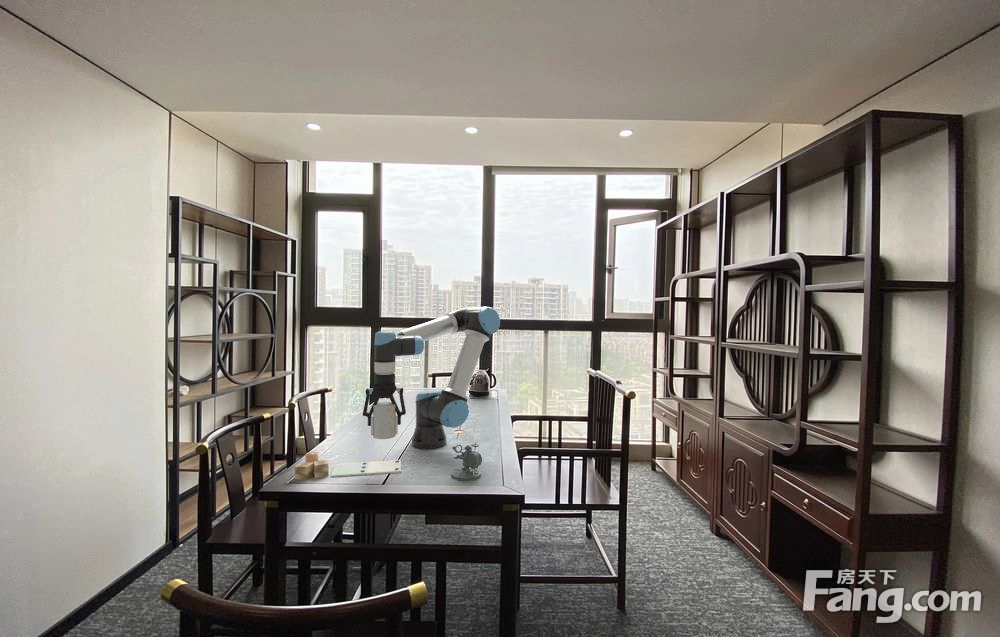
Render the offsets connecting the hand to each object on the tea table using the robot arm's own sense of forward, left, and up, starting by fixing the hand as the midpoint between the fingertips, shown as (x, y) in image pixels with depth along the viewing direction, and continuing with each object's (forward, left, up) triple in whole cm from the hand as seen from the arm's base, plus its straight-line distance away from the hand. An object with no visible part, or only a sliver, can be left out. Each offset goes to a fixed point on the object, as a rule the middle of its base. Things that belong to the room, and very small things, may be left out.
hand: (384, 433), depth 168 cm
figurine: (-29, +13, -13) cm, 34 cm away
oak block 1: (+27, +4, -13) cm, 30 cm away
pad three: (+12, 0, -13) cm, 17 cm away
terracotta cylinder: (+26, -3, -13) cm, 29 cm away
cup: (0, 0, -1) cm, 1 cm away
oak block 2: (+22, +3, -13) cm, 25 cm away
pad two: (0, 0, -13) cm, 13 cm away
